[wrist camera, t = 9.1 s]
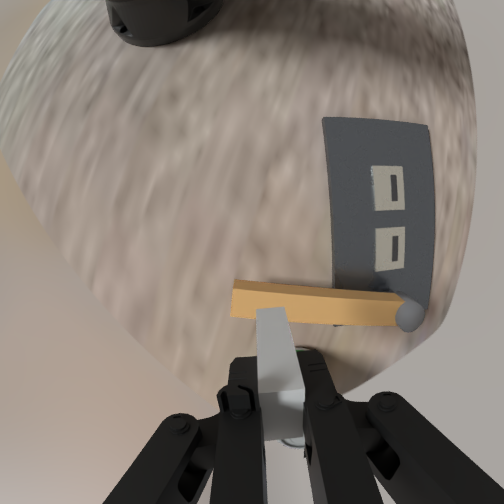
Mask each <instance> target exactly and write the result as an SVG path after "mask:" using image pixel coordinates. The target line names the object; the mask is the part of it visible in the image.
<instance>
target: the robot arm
mask: <svg viewBox="0 0 504 504" xmlns="http://www.w3.org/2000/svg"><path fill="white" fill-rule="evenodd" d="M222 4H223V0H106V5H107V10H108V15H109V19H110V24H111V26H112V28H113V30H114V31H115V32H116V33H117V34H118V35H119V36H120V38H121V39H123V40H124V41H125V42H127V43H129V44H132V45H136V46H157V45H163V44H167V43H170V42H174V41H177V40H179V39H182V38H184V37H186V36H188V35H190V34H192V33H194V32H196V31H197V30H199V29H201V28H202V27H203V26H205V25H206V24H207V23H208V22H210V21H211V20H212V19H213V18H214V17H215V15H216V14H217V13H218V12H219V10H220V8H221V6H222ZM256 329H257V356H253V357H237V358H235V359H234V360H233V362H232V363H231V364H230V370H229V378H228V379H229V380H228V385H226V386H224V387H223V388H222V389H220V390H219V392H218V394H217V400H218V404H219V408H220V412H219V413H218V414H216V415H214V416H212V417H209V418H205V419H200V420H197V419H195V417H193V416H192V415H189V414H184V413H179V414H173V415H171V416H169V417H167V418H166V419H165V420H164V421H162V423H161V424H160V426H159V427H158V428H157V430H156V431H155V433H154V434H153V435H152V437H151V438H150V440H149V441H148V442H147V444H146V445H145V447H144V448H143V449H142V451H141V452H140V454H139V455H138V456H137V458H136V459H135V461H134V462H133V463H132V465H131V466H130V467H129V469H128V470H127V471H126V473H125V474H124V475H123V477H122V478H121V480H120V481H119V482H118V484H117V485H116V486H115V488H114V489H113V490H112V492H111V493H110V494H109V496H108V497H107V498H106V500H105V501H104V502H103V504H197V502H198V500H199V498H200V496H201V494H202V492H203V490H204V488H205V486H206V483H207V481H208V479H209V477H210V475H211V473H212V470H213V468H214V470H213V479H212V486H211V495H210V504H268V502H267V481H266V458H265V446H264V441H270V440H281V439H290V438H299V437H303V432H304V437H305V448H304V458H305V457H306V459H307V465H308V470H309V476H310V482H311V488H312V494H313V501H314V504H384V503H383V500H382V497H381V494H380V492H379V489H378V486H377V483H376V480H375V478H374V475H375V477H376V478H377V479H378V481H379V482H380V483H381V485H382V486H383V487H384V489H385V490H386V491H387V492H388V494H389V495H390V496H391V498H392V499H393V500H394V501H395V503H396V504H504V489H503V488H502V487H501V486H500V485H499V484H498V483H496V482H495V481H494V480H493V479H492V478H491V477H490V476H489V475H487V474H486V473H485V472H484V471H483V470H482V469H481V468H480V467H479V466H478V465H476V464H475V463H474V462H473V461H472V460H471V459H470V458H469V457H468V456H466V455H465V454H464V453H463V452H462V451H461V450H460V449H459V448H458V447H456V446H455V445H454V444H453V443H452V442H451V441H450V440H449V439H448V438H447V437H445V436H444V435H443V434H442V433H441V432H440V431H439V430H438V429H437V428H436V427H434V426H433V425H432V424H431V423H430V422H429V421H428V420H427V419H426V418H425V417H424V416H423V415H421V414H420V413H419V412H418V411H417V410H416V409H415V408H414V407H413V406H412V405H410V404H409V403H408V402H407V401H406V400H405V399H404V398H403V397H402V396H400V395H399V394H397V393H394V392H390V391H389V392H380V393H377V394H375V395H374V396H372V397H371V399H370V400H369V402H354V401H349V400H346V399H344V397H343V396H342V395H341V394H339V393H337V391H336V389H335V386H334V383H333V381H332V378H331V376H330V373H329V371H328V368H327V365H326V364H325V360H324V358H323V355H322V354H321V353H319V352H318V351H317V350H316V349H314V350H306V351H298V352H296V350H295V346H294V342H293V338H292V334H291V330H290V327H289V323H288V319H287V315H286V311H285V307H274V308H263V309H256ZM373 474H374V475H373Z"/></svg>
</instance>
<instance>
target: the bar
mask: <svg viewBox="0 0 504 504" xmlns="http://www.w3.org/2000/svg"><path fill="white" fill-rule="evenodd" d="M274 307H285V311H286V315H287V319H288V322H299V323H315V324H335V325H367V326H399V327H400V328H401V329H402V330H403V331H404V332H412V331H414V330H416V329H417V328H418V327H419V326H420V325H421V324H422V322H423V320H424V316H425V311H424V308H423V307H422V306H421V305H420V304H418V303H417V302H416V301H414V300H413V299H412V298H410V297H409V296H408V295H406V294H405V293H404V292H402V291H397V292H394V293H385V292H370V291H357V290H343V289H331V288H319V287H307V286H296V285H286V284H275V283H265V282H256V281H246V280H237V279H235V280H234V286H233V293H232V304H231V315H230V316H232V317H241V318H251V319H256V309H263V308H274Z"/></svg>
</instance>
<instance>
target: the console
mask: <svg viewBox="0 0 504 504" xmlns="http://www.w3.org/2000/svg"><path fill="white" fill-rule="evenodd" d="M322 126H323V134H324V142H325V151H326V161H327V171H328V183H329V197H330V213H331V234H332V281H333V287H332V289H343V290H357V291H370V292H385V293H394V292H397V291H402V292H404V293H405V294H406V295H408V296H409V297H410V298H412V299H413V300H414V301H416V302H417V303H418V304H420V305H421V306H422V307H423V308H424V310H425V309H428V302H429V295H430V287H431V278H432V267H433V254H434V230H435V203H434V180H433V166H432V156H431V147H430V139H429V132H428V126H427V125H423V124H416V123H408V122H400V121H390V120H379V119H366V118H346V117H323V118H322ZM333 326H334V327H335V326H342V325H335V324H333Z"/></svg>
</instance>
